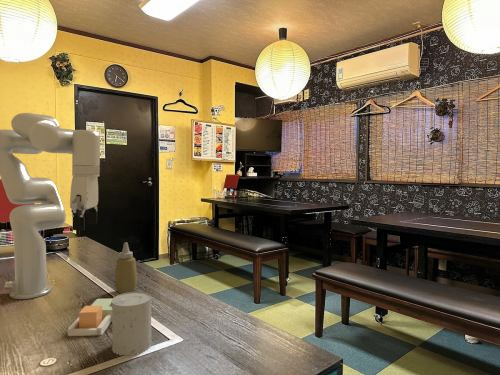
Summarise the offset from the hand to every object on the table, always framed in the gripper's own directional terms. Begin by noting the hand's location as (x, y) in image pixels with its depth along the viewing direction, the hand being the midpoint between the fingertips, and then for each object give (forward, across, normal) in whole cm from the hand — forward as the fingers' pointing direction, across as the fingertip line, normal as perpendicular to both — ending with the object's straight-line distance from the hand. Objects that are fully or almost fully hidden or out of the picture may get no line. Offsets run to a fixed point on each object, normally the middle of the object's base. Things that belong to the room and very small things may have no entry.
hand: (85, 227), depth 106 cm
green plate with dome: (+26, +7, +10) cm, 29 cm away
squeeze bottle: (+27, -17, +8) cm, 33 cm away
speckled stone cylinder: (+26, +22, +20) cm, 39 cm away
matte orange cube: (+26, +11, +6) cm, 29 cm away
